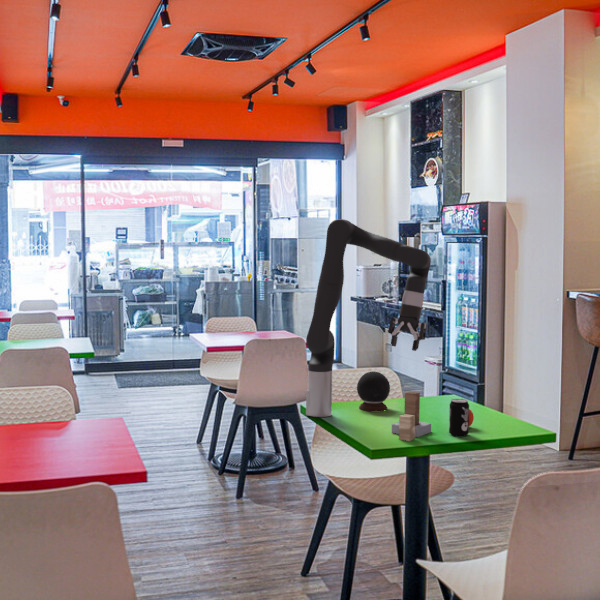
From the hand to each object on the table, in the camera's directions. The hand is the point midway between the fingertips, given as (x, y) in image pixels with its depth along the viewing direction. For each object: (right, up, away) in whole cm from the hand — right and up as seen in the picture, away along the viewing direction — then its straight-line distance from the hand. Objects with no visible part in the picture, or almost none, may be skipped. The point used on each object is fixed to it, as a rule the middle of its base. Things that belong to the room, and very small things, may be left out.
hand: (403, 348), depth 288 cm
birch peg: (-2, -29, -22) cm, 37 cm away
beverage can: (+17, -29, -15) cm, 37 cm away
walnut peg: (+1, -29, -12) cm, 31 cm away
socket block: (+1, -29, -12) cm, 31 cm away
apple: (+20, -28, -3) cm, 35 cm away
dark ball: (-8, -26, +29) cm, 40 cm away
